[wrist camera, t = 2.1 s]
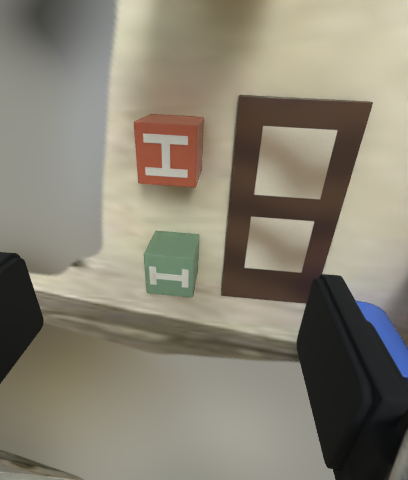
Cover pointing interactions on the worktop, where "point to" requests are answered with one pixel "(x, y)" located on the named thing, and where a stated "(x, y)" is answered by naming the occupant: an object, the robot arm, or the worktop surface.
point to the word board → (287, 192)
